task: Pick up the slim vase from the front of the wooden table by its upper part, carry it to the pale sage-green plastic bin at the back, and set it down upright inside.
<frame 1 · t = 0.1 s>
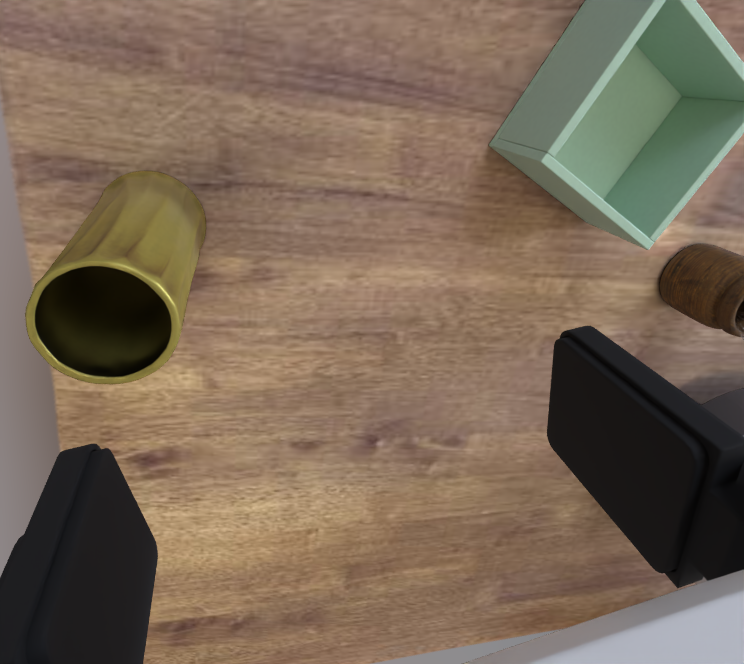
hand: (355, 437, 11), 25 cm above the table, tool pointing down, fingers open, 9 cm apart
bin: (589, 118, 35), on the table
planter: (689, 443, 55), on the table
utensil holder: (686, 272, 44), on the table
vase: (154, 220, 31), on the table
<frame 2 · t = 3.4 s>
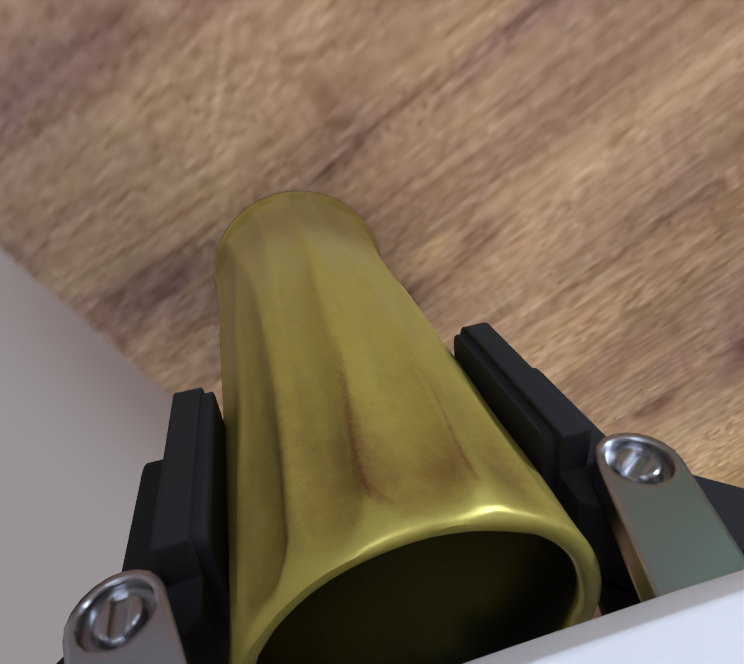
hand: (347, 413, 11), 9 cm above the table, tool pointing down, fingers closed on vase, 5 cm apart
vase: (298, 270, 19), on the table, touching gripper
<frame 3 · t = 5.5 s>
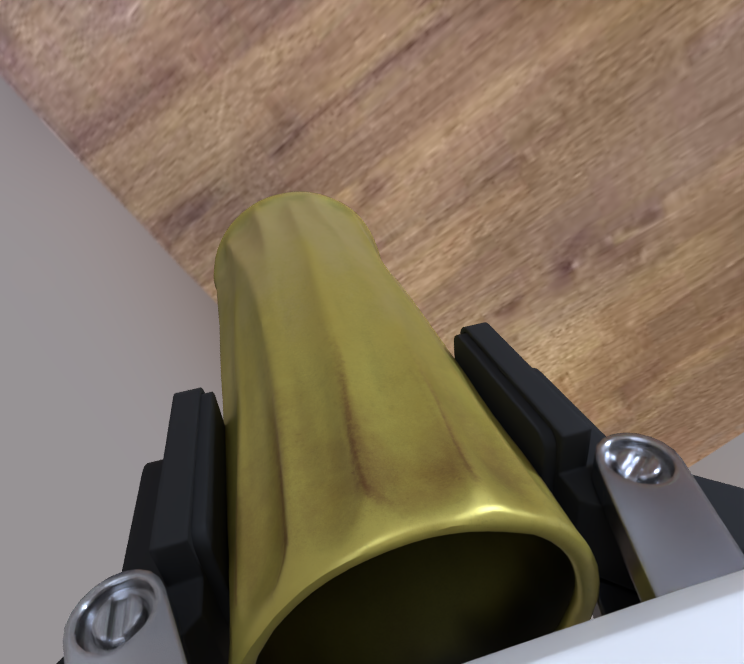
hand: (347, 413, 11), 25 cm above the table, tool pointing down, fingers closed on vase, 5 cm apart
vase: (298, 270, 19), point 16 cm above the table, touching gripper
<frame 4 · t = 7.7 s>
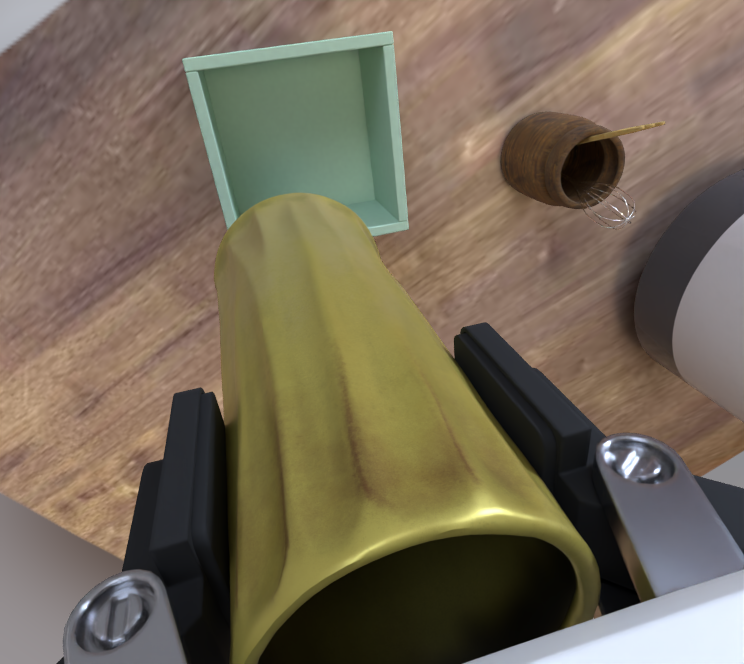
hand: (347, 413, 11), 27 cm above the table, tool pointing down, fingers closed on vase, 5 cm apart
bin: (296, 139, 33), on the table
planter: (701, 263, 47), on the table
utensil holder: (532, 150, 38), on the table
vase: (298, 271, 19), point 18 cm above the table, touching gripper
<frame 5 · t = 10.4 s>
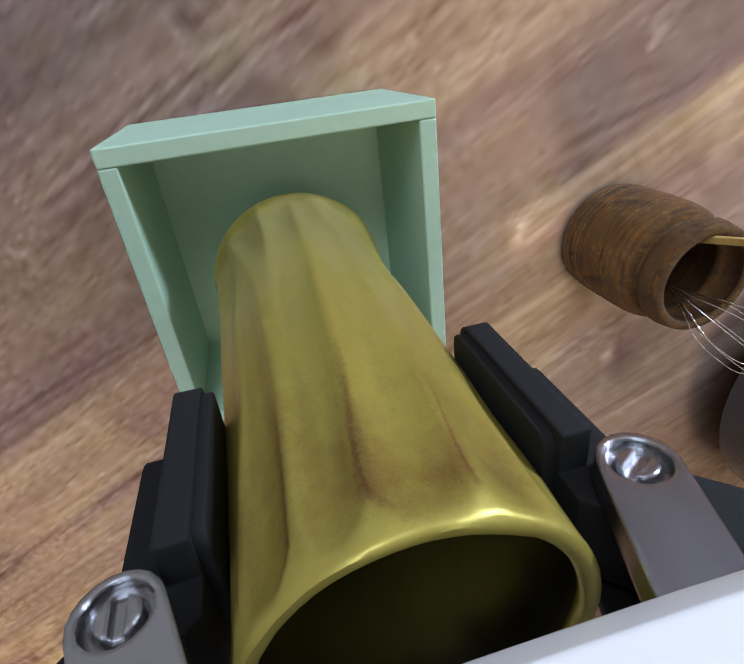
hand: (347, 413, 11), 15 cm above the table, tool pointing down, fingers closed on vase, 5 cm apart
bin: (284, 228, 24), on the table
utensil holder: (603, 231, 28), on the table
vase: (298, 271, 19), point 6 cm above the table, touching gripper
when the fingers open (9 cm above the table, at t = 12.2 s): vase stays where it is, resting on bin.
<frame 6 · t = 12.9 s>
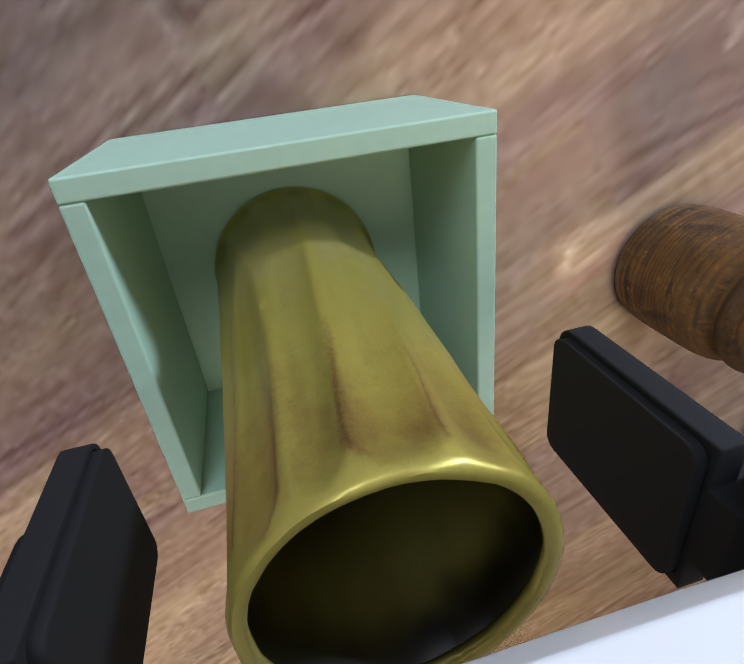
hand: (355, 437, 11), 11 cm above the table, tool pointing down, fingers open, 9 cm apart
bin: (297, 259, 20), on the table
utensil holder: (660, 256, 25), on the table
vase: (296, 263, 20), resting on bin
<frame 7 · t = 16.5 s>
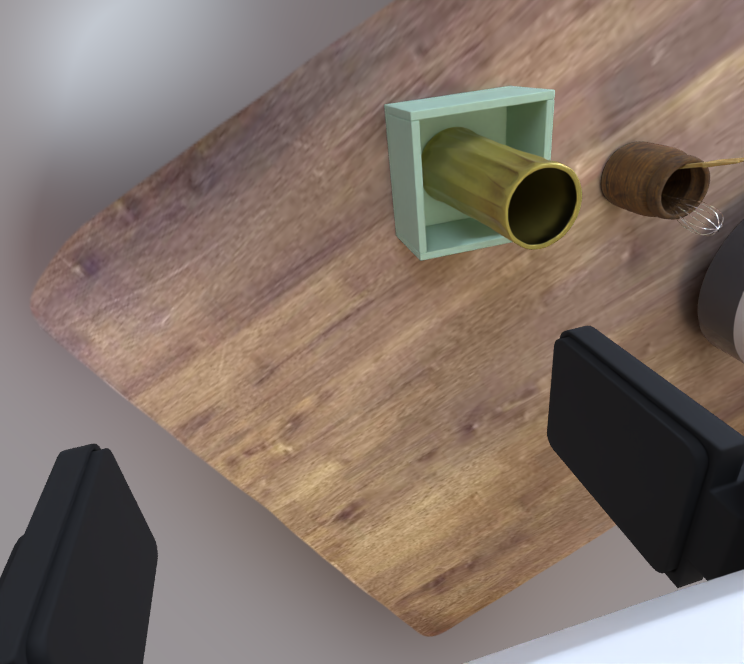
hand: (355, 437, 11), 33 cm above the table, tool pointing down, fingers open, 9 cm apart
bin: (450, 164, 43), on the table
utensil holder: (625, 171, 47), on the table
vase: (451, 165, 42), resting on bin
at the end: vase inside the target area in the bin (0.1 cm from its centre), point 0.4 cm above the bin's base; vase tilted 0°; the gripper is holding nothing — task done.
